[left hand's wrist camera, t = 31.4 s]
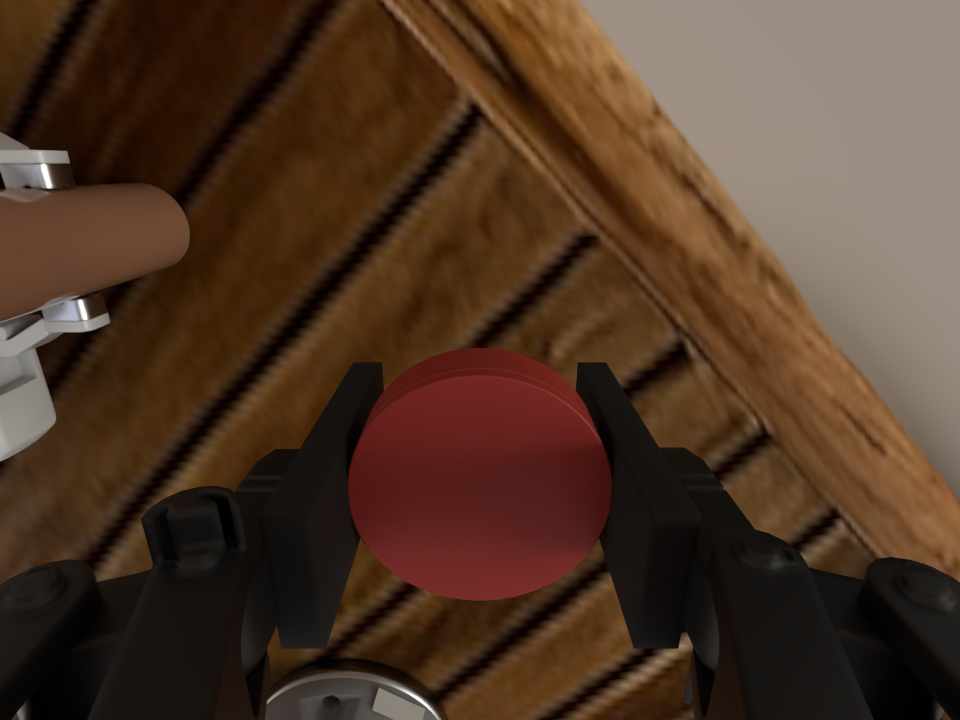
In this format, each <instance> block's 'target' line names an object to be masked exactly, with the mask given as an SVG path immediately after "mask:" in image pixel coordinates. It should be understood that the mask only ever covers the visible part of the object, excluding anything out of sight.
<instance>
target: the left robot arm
mask: <svg viewBox="0 0 960 720" xmlns="http://www.w3.org/2000/svg"><path fill="white" fill-rule="evenodd" d="M383 392H384V387H383V373H382V363H353V364H352V366H351V368H350V369H349V371H348V372H347V374H346V376H345V377H344V379H343V380H342V382H341V384H340V385H339V387H338V388H337V390H336V392H335V393H334V395H333V396H332V398H331V400H330V401H329V403H328V404H327V406H326V408H325V409H324V411H323V412H322V414H321V416H320V417H319V419H318V420H317V422H316V424H315V425H314V427H313V429H312V430H311V432H310V433H309V435H308V437H307V438H306V440H305V441H304V443H303V445H302V446H301V448H300V449H275V450H274V451H272V452H271V453H269V454H268V455H266V456H265V457H263V458H262V459H260V460H259V461H257V462H256V463H255V465H254V466H253V468H252V469H251V470H250V472H249V473H248V474H247V476H246V479H245V480H243V481H242V482H241V484H240V485H239V486H238V488H237V491H236V492H233V491H231V490H230V489H227V488H223V487H218V486H207V487H197V488H193V489H188V490H184V491H181V492H178V493H176V494H174V495H171V496H169V497H167V498H164V499H163V500H161V501H160V502H158V503H157V504H155V505H154V506H152V507H151V508H150V509H149V510H148V511H147V512H146V513H145V515H144V516H143V517H142V518H141V521H142V525H143V528H144V532H145V536H146V539H147V543H148V547H149V550H150V554H151V557H152V561H153V566H152V568H151V570H148V571H144V572H141V573H137V574H132V575H128V576H123V577H119V578H114V579H110V580H105V581H100V582H97V581H96V578H95V575H94V572H93V568H92V567H90V566H89V565H88V564H87V563H85V562H84V561H77V560H63V561H55V562H50V563H46V564H42V565H40V566H36V567H33V568H31V569H28V570H26V571H25V572H23V573H21V574H19V575H17V576H15V577H13V578H11V579H9V580H7V581H6V582H4V583H3V584H2V585H0V720H11V719H12V718H13V717H14V716H15V714H16V713H17V715H18V717H19V719H20V720H448V719H447V716H446V713H445V711H444V709H443V707H442V706H441V704H440V703H439V701H438V700H437V699H436V697H435V696H434V695H433V694H432V693H431V692H430V691H429V690H428V689H427V688H426V687H424V686H423V685H422V684H421V683H419V682H417V681H416V680H414V679H413V678H411V677H409V676H407V675H405V674H403V673H401V672H399V671H397V670H394V669H391V668H388V667H385V666H381V665H377V664H372V663H366V662H358V661H335V662H326V663H321V664H316V665H312V666H308V667H306V668H303V669H300V670H298V671H296V672H293V673H291V674H290V675H288V676H286V677H285V678H283V679H282V680H280V681H279V682H278V683H277V684H275V685H274V686H273V687H272V688H271V689H270V691H269V692H268V689H269V680H270V670H271V669H270V662H269V656H268V651H267V647H268V644H269V642H270V640H271V637H272V635H273V633H274V630H275V628H276V626H277V627H278V632H279V638H280V643H281V648H326V646H327V643H328V639H329V636H330V633H331V630H332V627H333V624H334V620H335V617H336V614H337V611H338V608H339V605H340V601H341V598H342V595H343V592H344V589H345V586H346V582H347V579H348V576H349V573H350V570H351V567H352V563H353V560H354V557H355V554H356V551H357V548H358V544H359V541H360V538H361V537H360V535H359V533H358V532H357V530H356V528H355V525H354V522H353V519H352V517H351V513H350V505H349V495H348V485H347V477H348V469H349V465H350V462H351V458H352V454H353V452H354V450H355V447H356V445H357V443H358V440H359V438H360V436H361V434H362V431H363V429H364V427H365V424H366V422H367V420H368V418H369V415H370V413H371V411H372V409H373V406H374V405H375V403H376V402H377V400H378V399H379V397H380V396H381V394H382V393H383ZM576 392H577V393H578V395H579V396H580V398H581V399H582V401H583V402H584V404H585V405H586V407H587V409H588V412H589V414H590V416H591V418H592V420H593V422H594V425H595V427H596V429H597V432H598V434H599V436H600V439H601V441H602V443H603V445H604V448H605V450H606V453H607V456H608V459H609V462H610V466H611V472H612V492H611V502H610V510H609V516H608V519H607V522H606V525H605V527H604V529H603V531H602V533H601V535H600V537H599V539H600V542H601V545H602V549H603V552H604V555H605V558H606V561H607V564H608V568H609V571H610V574H611V577H612V580H613V583H614V587H615V590H616V593H617V596H618V599H619V602H620V606H621V609H622V612H623V615H624V618H625V621H626V625H627V628H628V631H629V634H630V637H631V640H632V644H633V647H634V648H678V647H679V641H680V636H681V630H682V625H683V624H684V626H685V629H686V631H687V633H688V635H689V638H690V640H691V642H692V645H693V651H692V656H691V661H690V666H689V672H688V677H687V682H686V687H685V693H684V700H683V702H684V703H688V704H690V703H691V698H692V697H693V706H694V715H695V720H942V718H941V716H942V714H943V711H945V712H946V713H947V715H948V716H949V717H950V718H951V719H952V720H960V582H958V581H957V580H955V579H954V578H953V577H951V576H949V575H947V574H945V573H943V572H941V571H939V570H937V569H935V568H933V567H931V566H928V565H925V564H923V563H922V564H921V563H920V562H916V561H912V560H908V559H900V558H893V557H888V558H881V559H876V560H874V561H873V562H872V563H871V564H869V565H868V567H867V570H866V573H865V576H864V579H863V580H861V579H856V578H852V577H847V576H843V575H838V574H833V573H829V572H824V571H820V570H816V569H813V568H809V567H808V565H807V563H806V562H805V560H804V559H803V557H802V556H801V555H800V553H799V552H798V551H797V550H796V549H794V548H793V547H792V546H790V545H789V544H788V543H787V542H785V541H783V540H781V539H779V538H777V537H775V536H773V535H771V534H769V533H766V532H762V531H758V530H755V529H754V528H753V526H752V525H751V524H750V522H749V521H748V520H747V518H746V517H745V515H744V514H743V513H742V511H741V510H740V509H739V507H738V506H737V505H736V503H735V502H734V501H733V499H732V498H731V497H730V495H729V494H728V493H727V491H726V490H724V489H723V486H722V485H721V483H720V482H719V481H718V479H717V478H714V474H713V473H712V471H711V470H710V469H709V467H708V466H707V464H706V463H705V462H704V460H702V459H701V458H699V457H698V456H696V455H695V454H693V453H692V452H690V451H689V450H687V449H686V448H659V447H658V445H657V443H656V442H655V440H654V439H653V437H652V435H651V434H650V432H649V431H648V429H647V427H646V426H645V424H644V423H643V421H642V419H641V418H640V416H639V415H638V413H637V411H636V410H635V408H634V407H633V405H632V403H631V402H630V400H629V399H628V397H627V395H626V394H625V392H624V391H623V389H622V387H621V386H620V384H619V383H618V381H617V379H616V378H615V376H614V375H613V373H612V371H611V370H610V368H609V367H608V365H607V363H578V368H577V382H576Z"/></svg>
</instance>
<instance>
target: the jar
mask: <svg viewBox="0 0 960 720" xmlns="http://www.w3.org/2000/svg"><path fill="white" fill-rule="evenodd" d="M189 240H190V230H189V224H188V221H187V218H186V216H185V214H184V212H183V210H182V209H181V207H180V206H179V204H178V203H177V202H176V201H175V200H174V199H173V198H172V197H171V196H170V195H169V194H167V193H166V192H165V191H163V190H161V189H160V188H158V187H156V186H153V185H150V184H146V183H138V182H134V183H114V184H94V185H76V187H73V188H53V189H36V188H14V189H0V323H3V322H6V321H9V320H12V319H15V318H18V317H21V316H24V315H27V314H30V313H33V312H36V311H39V310H42V309H45V308H48V307H51V306H54V305H57V304H60V303H63V302H66V301H69V300H72V299H75V298H78V297H81V296H84V295H87V294H90V293H93V292H96V291H99V290H102V289H105V288H108V287H111V286H114V285H117V284H120V283H123V282H126V281H129V280H133V279H136V278H139V277H142V276H145V275H148V274H151V273H154V272H157V271H160V270H163V269H166V268H168V267H171V266H173V265H175V264H176V263H177V262H179V261H180V260H181V259H182V258H183V256H184V255H185V253H186V251H187V249H188V245H189Z"/></svg>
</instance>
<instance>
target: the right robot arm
mask: <svg viewBox="0 0 960 720" xmlns="http://www.w3.org/2000/svg"><path fill="white" fill-rule="evenodd" d="M69 163H70V161H69V157H68V153H67V151H54V150H29V148H28V147H27V146H25V145H23V144H21V143H19V142H18V141H16V140H14V139H12V138H11V137H9V136H7V135H5V134H3V133H2V132H0V172H1V175H2V178H3V181H4V184H5V188H6V189H14V188H36V189H53V188H73V187H76V185H75V180H74V176H73V172H72V168H71V164H69ZM42 313H43V317H44V318H42V317H41V316H40V315H39V314H27V315H24V316H21V317H18V318H15V319H12V320H9V321H6V322H3V323H0V461H2V460H4V459H7V458H9V457H11V456H13V455H15V454H16V453H18V452H20V451H21V450H23V449H25V448H26V447H28V446H29V445H31V444H32V443H34V442H35V441H37V440H38V439H39V438H40V437H41V436H43V435H44V434H45V433H46V432H47V431H48V430H49V429H50V428H51V427H52V426H53V425H54V423H55V422H56V413H55V409H54V406H53V403H52V400H51V397H50V393H49V390H48V387H47V384H46V381H45V377H44V374H43V371H42V368H41V365H40V361H39V358H38V355H37V352H36V348H37V347H39V346H41V345H44V344H46V343H49V342H51V341H52V340H54V339H55V338H57V337H58V336H60V335H61V334H63V333H64V332H86V331H91V330H95V329H97V328H100V327H102V326H104V325H107V324H109V323H110V319H109V315H108V312H107V308H106V304H105V301H104V297H103V293H102V291H96V292H93V293H90V294H87V295H84V296H81V297H78V298H75V299H72V300H69V301H66V302H63V303H60V304H57V305H54V306H51V307H48V308H45V309H42Z"/></svg>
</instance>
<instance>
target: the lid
mask: <svg viewBox="0 0 960 720" xmlns="http://www.w3.org/2000/svg"><path fill="white" fill-rule="evenodd" d="M347 485H348V495H349V505H350V513H351V517H352V519H353V522H354V525H355V528H356V530H357V532H358V533H359V535H360V537H361V539H362V541H363V542H364V544H365V545H366V546H367V548H368V549H369V551H370V552H371V553H372V554H373V555H374V556H375V557H376V558H377V560H378V561H379V562H380V563H381V564H382V565H384V566H385V567H386V568H387V569H388V570H390V571H391V572H392V573H393V574H395V575H397V576H398V577H400V578H401V579H403V580H404V581H406V582H408V583H410V584H412V585H414V586H416V587H418V588H420V589H423V590H426V591H428V592H431V593H434V594H437V595H441V596H445V597H449V598H456V599H463V600H481V601H482V600H498V599H504V598H510V597H515V596H518V595H522V594H526V593H529V592H532V591H534V590H537V589H539V588H542V587H544V586H546V585H548V584H550V583H552V582H554V581H555V580H557V579H559V578H560V577H562V576H563V575H565V574H566V573H568V572H569V571H570V570H571V569H572V568H574V567H575V566H576V565H577V564H578V563H579V562H580V561H581V560H582V559H583V558H584V557H585V556H586V555H587V554H588V553H589V552H590V550H591V549H592V547H593V546H594V545H595V543H596V542H597V540H598V539H599V537H600V535H601V533H602V531H603V529H604V527H605V525H606V522H607V519H608V516H609V510H610V502H611V492H612V472H611V466H610V462H609V459H608V456H607V453H606V450H605V448H604V445H603V443H602V441H601V439H600V436H599V434H598V432H597V429H596V427H595V425H594V422H593V420H592V418H591V416H590V414H589V412H588V409H587V407H586V405H585V404H584V402H583V401H582V399H581V398H580V396H579V395H578V393H577V392H576V391H575V390H574V389H573V388H572V386H571V385H570V384H569V383H568V382H567V381H566V380H565V379H563V378H562V377H561V376H560V375H559V374H557V373H556V372H555V371H553V370H552V369H550V368H549V367H547V366H545V365H544V364H542V363H540V362H538V361H536V360H534V359H531V358H529V357H527V356H524V355H521V354H517V353H514V352H510V351H505V350H499V349H489V348H471V349H460V350H455V351H450V352H445V353H442V354H439V355H436V356H433V357H430V358H428V359H426V360H424V361H422V362H420V363H418V364H416V365H414V366H413V367H411V368H410V369H408V370H407V371H405V372H404V373H402V374H401V375H400V376H399V377H398V378H396V379H395V380H394V381H393V382H392V383H391V384H390V385H389V386H388V387H387V388H386V390H385V391H384V392H383V393H382V394H381V396H380V397H379V399H378V400H377V402H376V403H375V405H374V406H373V409H372V411H371V413H370V415H369V418H368V420H367V422H366V424H365V427H364V429H363V431H362V434H361V436H360V438H359V440H358V443H357V445H356V447H355V450H354V452H353V454H352V458H351V462H350V465H349V469H348V477H347Z"/></svg>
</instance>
